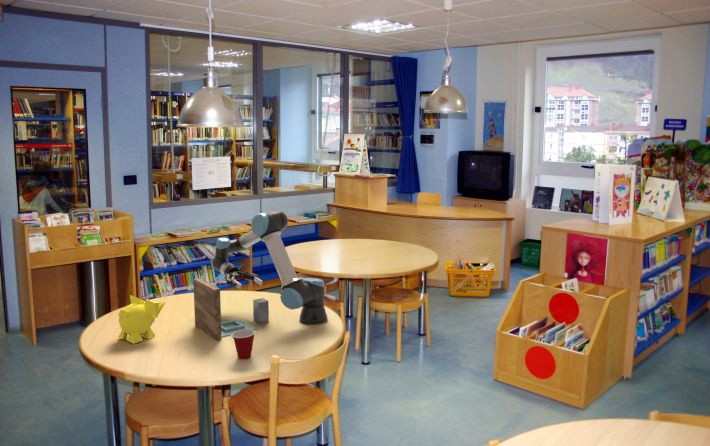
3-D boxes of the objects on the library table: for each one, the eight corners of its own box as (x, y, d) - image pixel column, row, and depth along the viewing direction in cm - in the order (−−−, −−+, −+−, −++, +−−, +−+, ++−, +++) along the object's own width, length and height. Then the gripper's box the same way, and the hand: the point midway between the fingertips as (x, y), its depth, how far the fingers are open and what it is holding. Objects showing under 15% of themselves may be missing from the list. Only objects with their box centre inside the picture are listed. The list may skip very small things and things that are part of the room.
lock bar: (263, 319, 336) (263, 298, 334) (268, 322, 331) (268, 300, 329) (253, 321, 332) (253, 299, 330) (258, 324, 327) (258, 302, 325)
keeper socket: (239, 319, 335) (239, 316, 334) (256, 329, 319) (256, 326, 318) (204, 326, 323) (204, 323, 322) (220, 337, 307) (220, 333, 307)
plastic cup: (233, 353, 286) (232, 328, 284) (256, 352, 287) (256, 328, 285) (230, 362, 276) (229, 336, 274) (254, 361, 277) (254, 336, 275)
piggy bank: (167, 335, 310) (166, 298, 307) (135, 346, 293) (133, 307, 290) (141, 327, 320) (139, 291, 317) (109, 338, 304) (106, 300, 301)
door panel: (201, 325, 325) (199, 277, 320) (222, 339, 304) (221, 288, 300) (195, 326, 323) (193, 278, 318) (215, 340, 302) (214, 289, 298)
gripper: (247, 274, 356) (269, 288, 342) (209, 280, 339) (230, 294, 325) (249, 262, 354) (270, 275, 340) (211, 267, 337) (232, 281, 323)
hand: (251, 285), depth 332 cm, fingers open, 13 cm apart
